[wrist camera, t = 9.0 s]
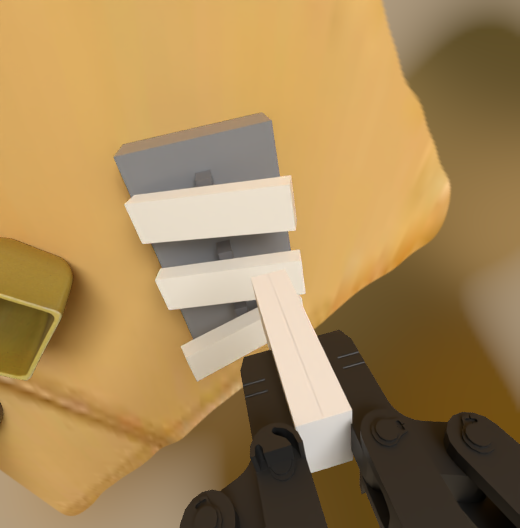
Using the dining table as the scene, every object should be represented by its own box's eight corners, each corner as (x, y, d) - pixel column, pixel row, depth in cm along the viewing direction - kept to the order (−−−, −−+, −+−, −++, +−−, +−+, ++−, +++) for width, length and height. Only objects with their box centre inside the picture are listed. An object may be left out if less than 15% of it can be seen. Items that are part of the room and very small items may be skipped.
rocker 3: (191, 369, 30) (197, 381, 29) (180, 346, 29) (185, 357, 27) (296, 313, 34) (305, 322, 33) (292, 289, 32) (301, 297, 31)
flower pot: (62, 313, 35) (27, 383, 27) (-34, 283, 31) (-105, 355, 24) (93, 253, 32) (63, 314, 24) (-10, 210, 28) (-84, 267, 20)
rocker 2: (173, 298, 29) (168, 310, 28) (160, 268, 27) (154, 279, 26) (303, 281, 28) (305, 293, 27) (299, 249, 26) (301, 260, 25)
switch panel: (198, 327, 39) (199, 366, 34) (123, 144, 27) (107, 164, 22) (292, 302, 40) (306, 337, 35) (261, 112, 27) (277, 125, 22)
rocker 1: (150, 233, 26) (142, 243, 25) (134, 195, 24) (124, 204, 23) (296, 219, 24) (295, 230, 22) (291, 175, 22) (289, 184, 20)
